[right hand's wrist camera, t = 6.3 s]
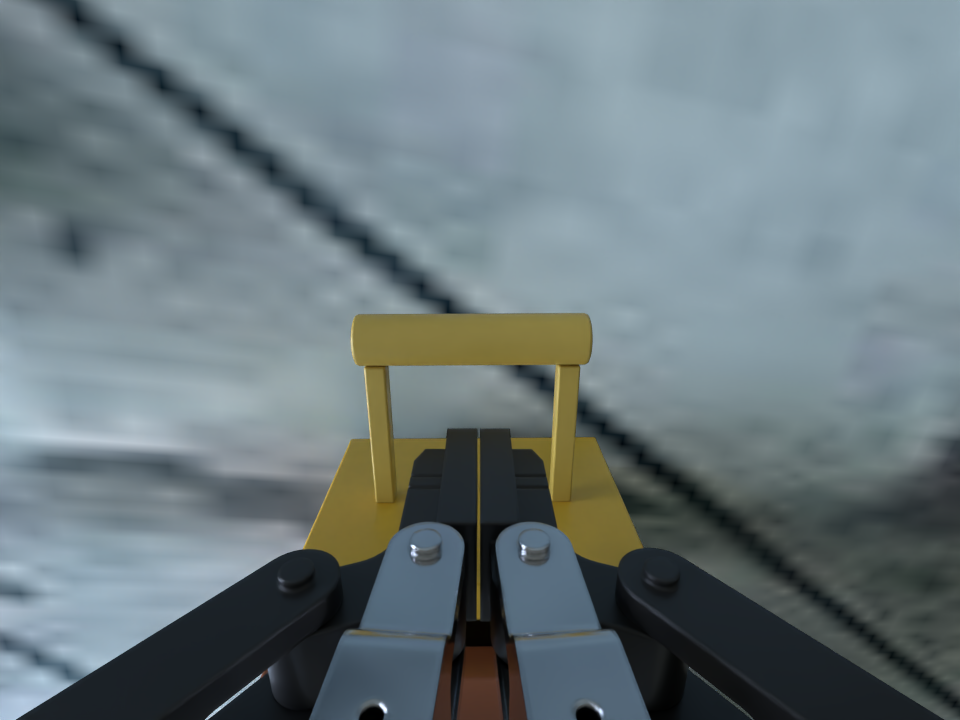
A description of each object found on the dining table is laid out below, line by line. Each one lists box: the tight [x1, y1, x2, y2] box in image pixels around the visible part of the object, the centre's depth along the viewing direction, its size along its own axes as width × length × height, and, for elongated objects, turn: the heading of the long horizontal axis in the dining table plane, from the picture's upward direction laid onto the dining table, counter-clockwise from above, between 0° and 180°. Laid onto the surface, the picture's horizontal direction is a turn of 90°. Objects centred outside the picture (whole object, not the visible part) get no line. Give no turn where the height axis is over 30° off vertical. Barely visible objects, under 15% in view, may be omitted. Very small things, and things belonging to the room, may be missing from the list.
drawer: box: [303, 313, 643, 647], centre depth 19 cm, size 25×9×7 cm, turn 0°
